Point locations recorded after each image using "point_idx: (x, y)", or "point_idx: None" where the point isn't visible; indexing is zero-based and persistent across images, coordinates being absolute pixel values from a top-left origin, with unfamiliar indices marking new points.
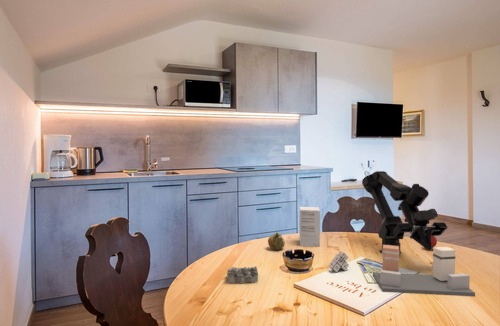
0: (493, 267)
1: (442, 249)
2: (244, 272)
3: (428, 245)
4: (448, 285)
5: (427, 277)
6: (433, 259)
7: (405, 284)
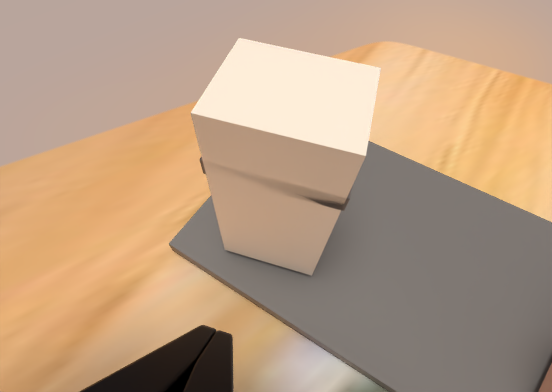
0: None
1: (332, 83)
2: None
3: (212, 363)
4: None
5: (339, 292)
6: (335, 221)
7: (538, 271)
